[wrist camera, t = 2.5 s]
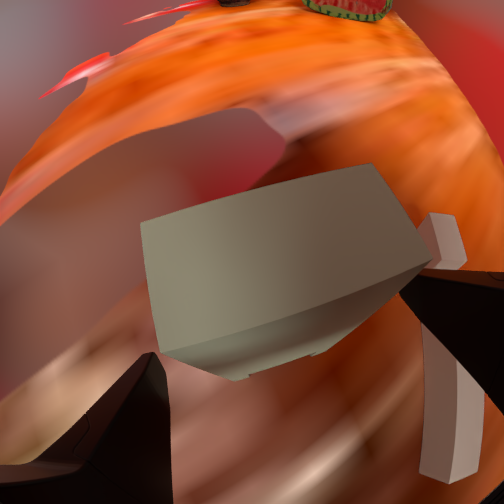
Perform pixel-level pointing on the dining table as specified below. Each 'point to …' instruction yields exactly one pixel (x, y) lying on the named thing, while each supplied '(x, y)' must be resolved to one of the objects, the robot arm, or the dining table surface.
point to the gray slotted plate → (277, 269)
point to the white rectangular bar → (448, 378)
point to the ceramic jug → (233, 2)
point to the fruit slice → (352, 8)
